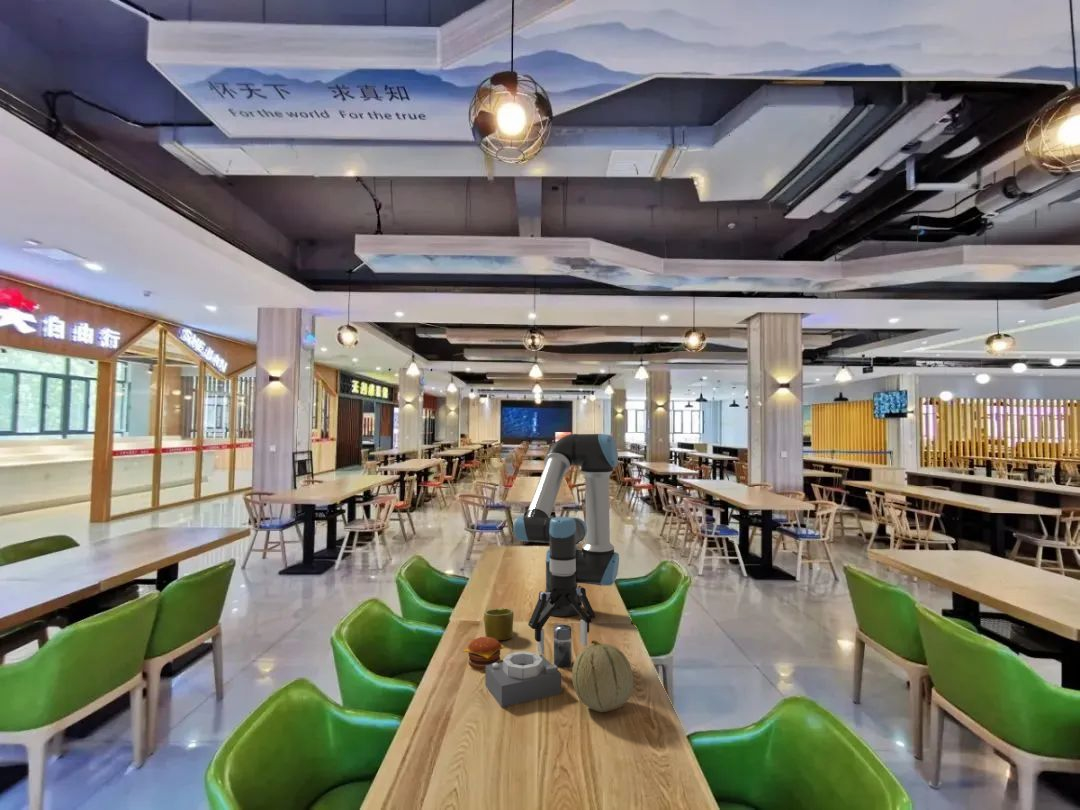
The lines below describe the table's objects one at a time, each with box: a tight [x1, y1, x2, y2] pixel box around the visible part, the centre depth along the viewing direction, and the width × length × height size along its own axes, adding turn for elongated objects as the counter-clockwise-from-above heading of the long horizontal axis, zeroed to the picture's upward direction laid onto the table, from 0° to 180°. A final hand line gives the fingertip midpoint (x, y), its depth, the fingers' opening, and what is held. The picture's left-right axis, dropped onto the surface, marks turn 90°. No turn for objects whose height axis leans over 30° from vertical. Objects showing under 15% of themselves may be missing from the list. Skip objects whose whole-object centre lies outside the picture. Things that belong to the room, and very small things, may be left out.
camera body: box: [485, 650, 562, 708], centre depth 135 cm, size 16×12×8 cm
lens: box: [553, 624, 573, 669], centre depth 150 cm, size 5×5×10 cm
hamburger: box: [462, 636, 506, 670], centre depth 151 cm, size 9×10×7 cm
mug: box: [483, 607, 514, 642], centre depth 170 cm, size 12×10×10 cm
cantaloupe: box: [571, 639, 634, 713], centre depth 126 cm, size 15×15×15 cm
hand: (562, 648), depth 150 cm, fingers open, 13 cm apart
